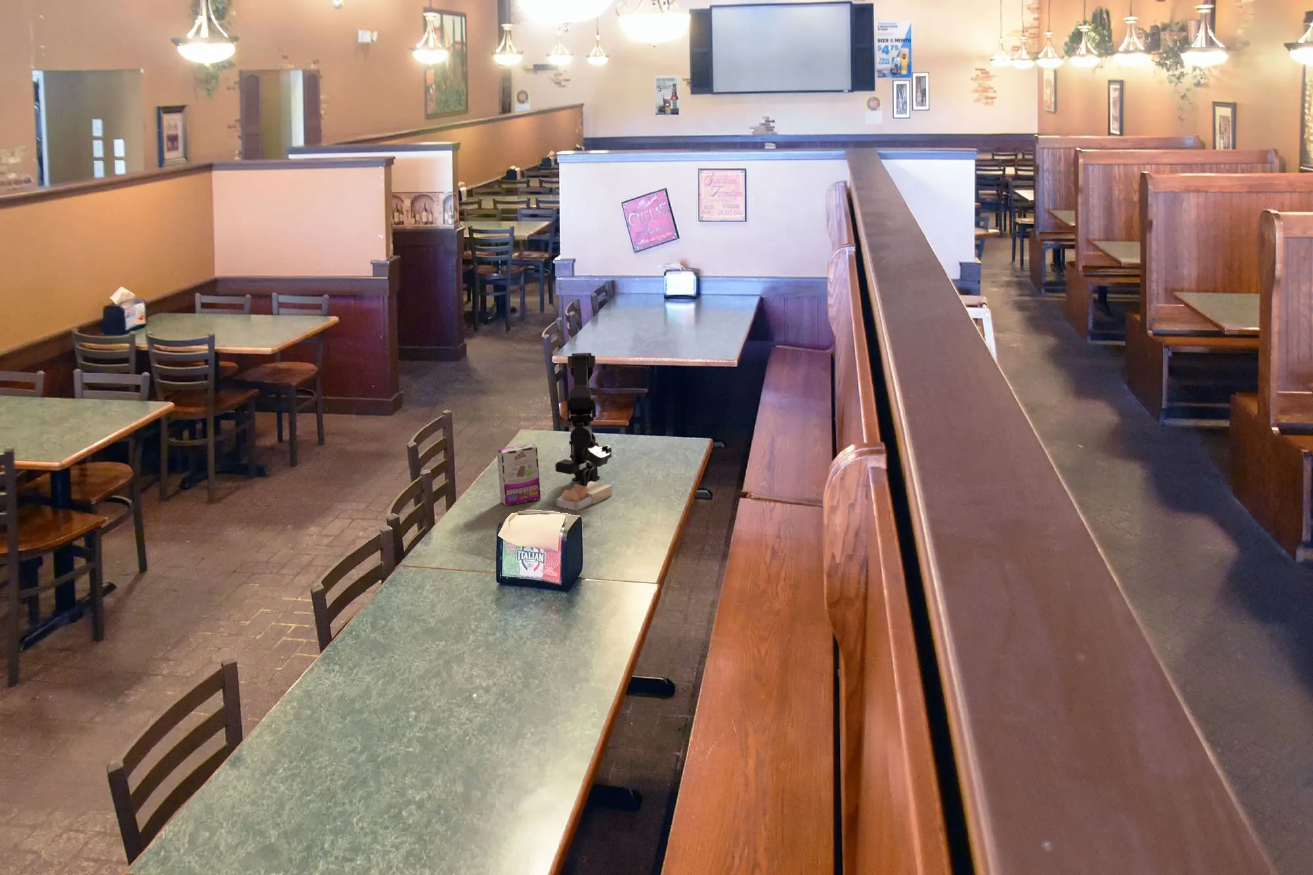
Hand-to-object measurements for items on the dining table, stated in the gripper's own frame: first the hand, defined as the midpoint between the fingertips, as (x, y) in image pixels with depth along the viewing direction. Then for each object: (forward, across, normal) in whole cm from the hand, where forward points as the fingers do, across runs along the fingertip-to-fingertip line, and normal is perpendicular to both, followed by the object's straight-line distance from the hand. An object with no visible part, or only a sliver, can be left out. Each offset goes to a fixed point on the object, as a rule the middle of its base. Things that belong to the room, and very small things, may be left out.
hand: (584, 488), depth 335 cm
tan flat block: (+4, +3, 0) cm, 5 cm away
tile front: (+1, -5, 0) cm, 5 cm away
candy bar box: (+4, -10, +16) cm, 19 cm away
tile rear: (+1, -2, 0) cm, 2 cm away
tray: (+4, -5, 0) cm, 6 cm away
